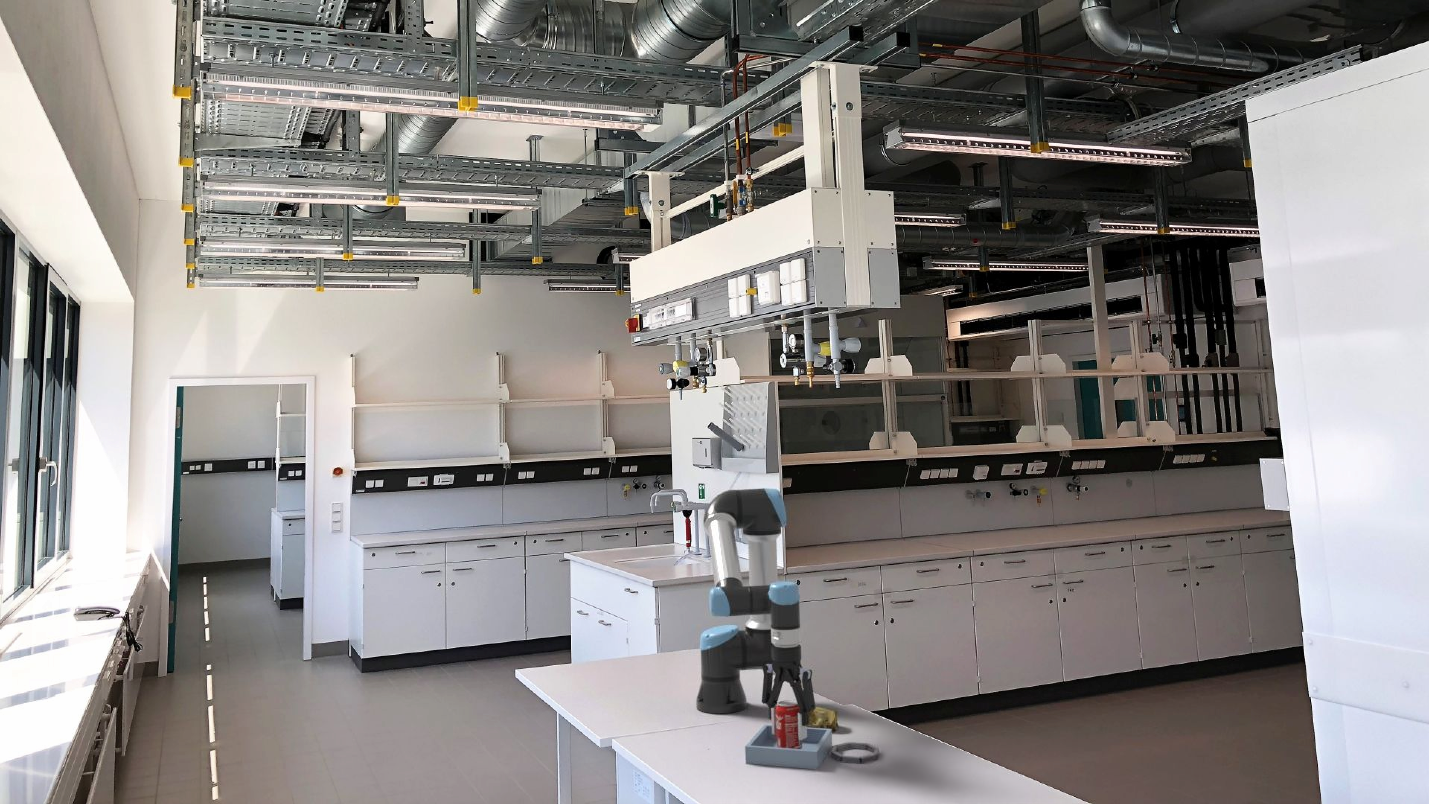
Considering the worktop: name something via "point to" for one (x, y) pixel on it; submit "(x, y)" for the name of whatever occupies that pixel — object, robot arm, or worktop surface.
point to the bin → (809, 756)
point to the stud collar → (851, 758)
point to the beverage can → (787, 725)
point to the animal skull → (823, 718)
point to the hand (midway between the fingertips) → (789, 735)
